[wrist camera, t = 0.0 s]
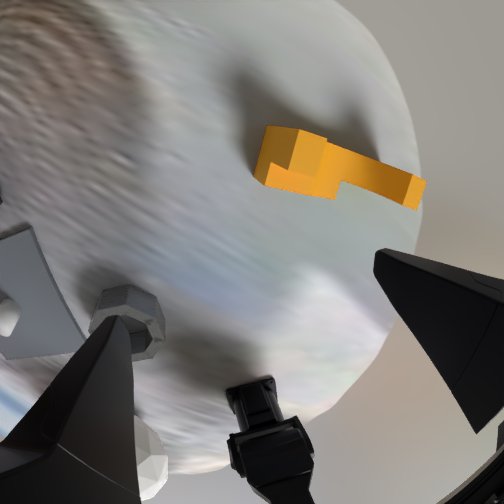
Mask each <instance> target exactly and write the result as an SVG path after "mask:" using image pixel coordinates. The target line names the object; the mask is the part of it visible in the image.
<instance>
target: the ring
mask: <svg viewBox="0 0 504 504" xmlns="http://www.w3.org/2000/svg"><path fill="white" fill-rule="evenodd" d="M116 314H117V315H119V316H122V315H127V316H130V317H132V318H134V319H136V320H138V321H141V322H143V323H145V324H146V325H147V327H148V328H147V330H146V331H142V332H137V333H132V334H129V336H130V343H131V356H132V362H134V361H140V360H145V359H151V358H153V357H154V355H155V354H156V353H157V351H158V350H159V348H160V347H161V346H162V344H163V343H164V341H165V319H164V316H163V314H162V311H161V309H160V306H159V303H158V301H157V298H156V297H155V296H152V295H150V294H148V293H146V292H144V291H142V290H140V289H138V288H136V287H134V286H132V285H125V286H121V287H117V288H112V289H108V290H104V291H103V293H102V295H101V297H100V299H99V301H98V303H97V306H96V308H95V310H94V313H93V316H92V320H91V323H90V326H89V330H88V331H89V333H90V335H91V334H92V333H93V332H94V331H95V329H96V328H97V327H98V326H99V325H100V324H101V323H102V321H103V320H104V319H105V318H106V317H107V316H111V315H116Z"/></svg>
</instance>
